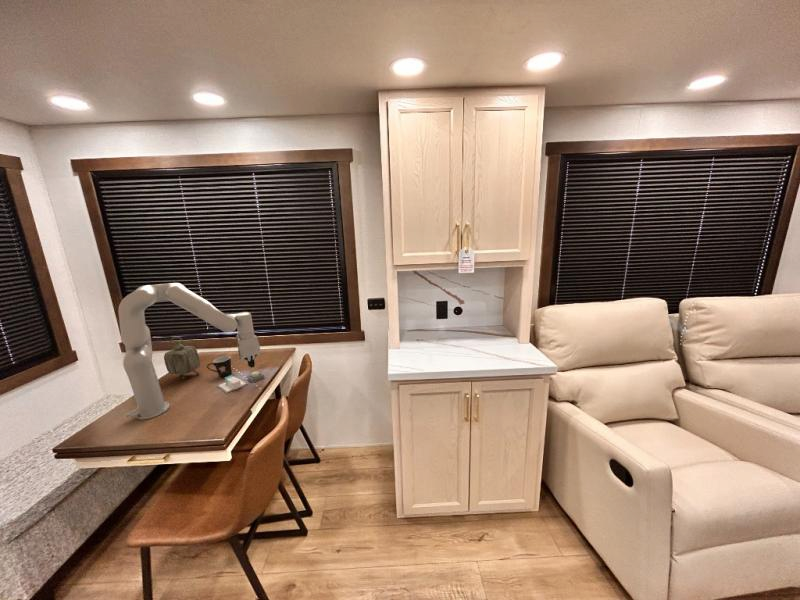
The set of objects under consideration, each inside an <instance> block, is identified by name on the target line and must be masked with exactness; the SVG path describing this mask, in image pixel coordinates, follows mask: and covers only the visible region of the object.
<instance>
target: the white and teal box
mask: <svg viewBox="0 0 800 600" xmlns="http://www.w3.org/2000/svg"><path fill="white" fill-rule="evenodd" d="M224 381H225V382H226V384H227V385H229V386H230V387H232V388H233V389H234V391H236V390H238V389H240V388H239V387H241V382H240V380H238V379H237V377H235V376H233V375H232V374H231V375H230V376H228V377H224ZM237 388H238V389H237ZM241 388H242V387H241ZM235 389H236V390H235Z"/></svg>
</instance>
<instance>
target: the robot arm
mask: <svg viewBox="0 0 800 600" xmlns="http://www.w3.org/2000/svg"><path fill="white" fill-rule="evenodd" d="M160 302H161V303H162V302H171V303H173V304H175V305H176V306H178V307H180V308H182V309H184V310H185V311H188V312H190V313H191V314H192V315H194V316H196V317H198V318H200V319H201V320H202V321H204V322H206V323H208V324H209V325H211V326H213V327H214V328H216V329H218V330H221V331H222V332H224V333H232V332H233V333H234V332H235V331H236V330H237V335H236V336H235V338H236V339H237V353H238V356H239V357H238V358H239V360H240V361H244V360H245V361H247V366H248V367H249V368H255V364H256V362H255V360H256V357H257V356H259V355H260V354H261V346H260V342H259V339H258V337H257V335H255V329H254V324H253V318H252V317H253V316H252V313H251V312H248V311H242V312H238V313H231V314H227V313H225V312H222V311H221V310H219V309H218V308H216V307H215V305H213V304H212V303H211V302H210V301H208V300H207V299H205V298H203V297H202V296H200V295H199V294H197V293H195V292H193V291H191V290H189V289H188V288H187V287H186V286H185V285H184V284H182V283H180V282H172V283H171V282H169V283H159V284H146V285H142V286H139V287H137V288H136V289H135V290H134V291H132V292H131V293H129V294H127V295H126V296H125V297H124V298H122V299H121V302H120V303H119V306H118V321H119V329H120V330H119V331H120V340H121V342H122V344H123V345H124V347H125V356H124V358H123V361H122V367H123V369H124V371H125V373H126V376H127V378H128V381H129V383H130V387H131V389H132V392H133V396H134V399H135V402H136V404H137V406H136V408H135V409H133V410H131V411H129V412H125V416H126V418H133V417H136V419H137V420H140V421H141V420H149V419H153V418H155V417H158V416H160V415H162V414H164V413H166V411H168V410H169V409H170V407H171V405H170V402H168V401H165V398H164V395H163V392H162V389H161V386H160V385H161V384H160V382H159V379H158V375H157V372H156V369H155V366H154V364H153V347H152V345H153V344H152V338H151V330H150V328H149V326H147V324H146V317H145V310H146V309H147V308H148V307H151V306H152V305H154V304H155V303H160Z"/></svg>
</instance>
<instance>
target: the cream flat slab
mask: <svg viewBox="0 0 800 600" xmlns="http://www.w3.org/2000/svg"><path fill="white" fill-rule="evenodd" d="M236 378H237V379H238V380H240V382H241V387H239V388H237V389H235V390H234V389H233V388H232V387H230V386H229V385H227V384H226V381H225V382H223V383H220V384H218V385H216V387H217V388H219V389H220V390H221V391H222V392H224V393H225V394H227V395H228V394H229V393H232V392H233V391H237V390H238V389H241V388H242V387H245V386H248V385H249V383H248V382H246V381H244V380H243V379H242V378H240V377H236Z"/></svg>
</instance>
